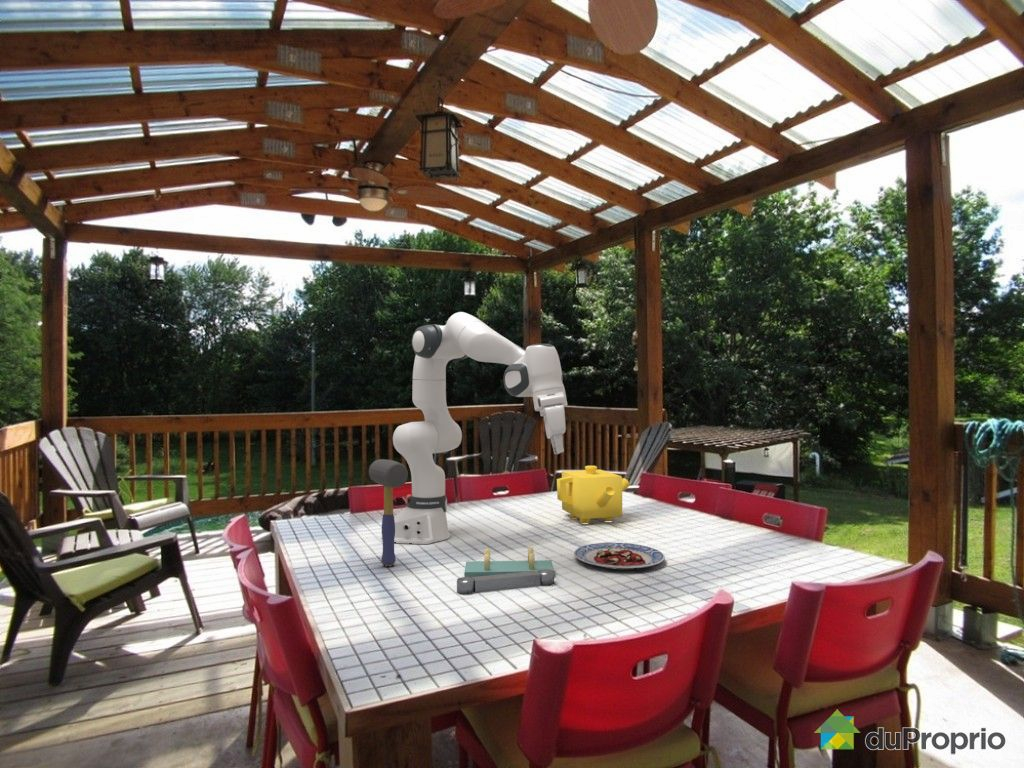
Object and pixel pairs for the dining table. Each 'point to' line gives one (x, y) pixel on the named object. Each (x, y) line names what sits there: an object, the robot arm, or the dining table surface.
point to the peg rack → (505, 565)
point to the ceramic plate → (619, 555)
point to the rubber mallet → (388, 501)
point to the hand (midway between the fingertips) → (559, 453)
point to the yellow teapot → (591, 494)
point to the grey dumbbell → (505, 581)
